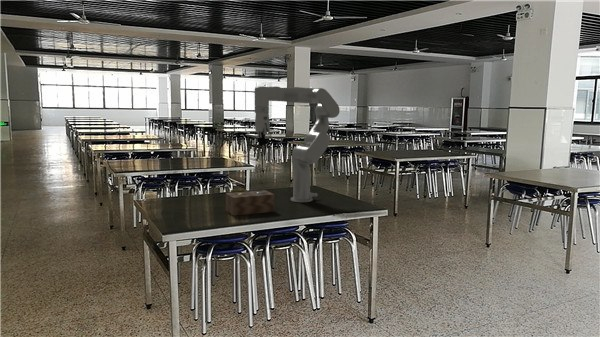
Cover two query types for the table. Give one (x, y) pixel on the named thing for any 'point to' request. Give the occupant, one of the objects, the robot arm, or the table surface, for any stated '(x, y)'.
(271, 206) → the walnut block
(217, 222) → the table surface
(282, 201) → the table surface
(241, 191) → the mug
